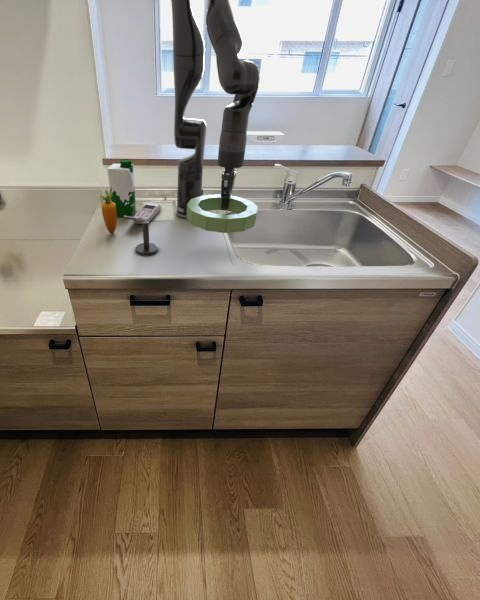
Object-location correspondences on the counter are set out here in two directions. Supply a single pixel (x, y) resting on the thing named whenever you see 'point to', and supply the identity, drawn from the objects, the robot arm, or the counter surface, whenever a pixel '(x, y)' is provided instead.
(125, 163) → the milk carton
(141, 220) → the mobile phone
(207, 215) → the ring
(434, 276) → the counter surface
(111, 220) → the carrot
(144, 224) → the peg stand
